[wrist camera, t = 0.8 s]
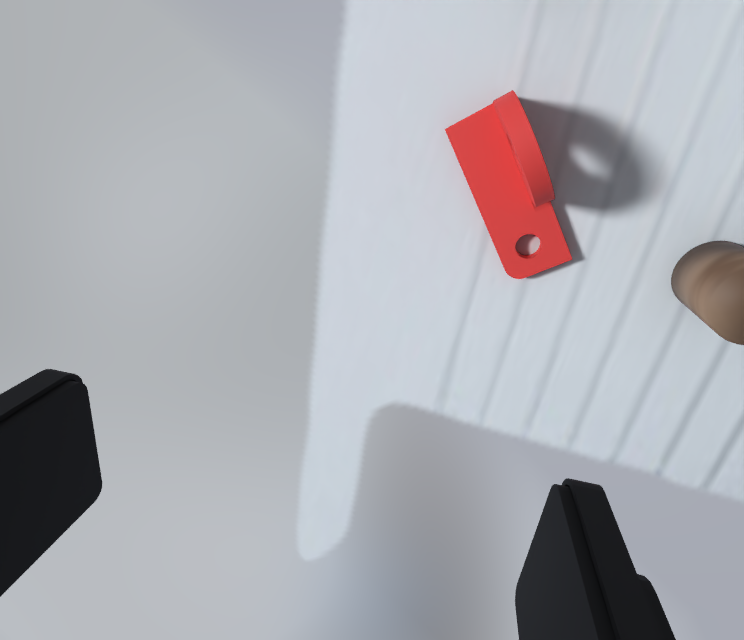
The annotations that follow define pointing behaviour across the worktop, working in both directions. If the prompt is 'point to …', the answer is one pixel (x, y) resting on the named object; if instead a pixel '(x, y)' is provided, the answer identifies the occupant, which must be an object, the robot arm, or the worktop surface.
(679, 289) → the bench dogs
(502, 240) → the bracket
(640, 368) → the worktop surface
